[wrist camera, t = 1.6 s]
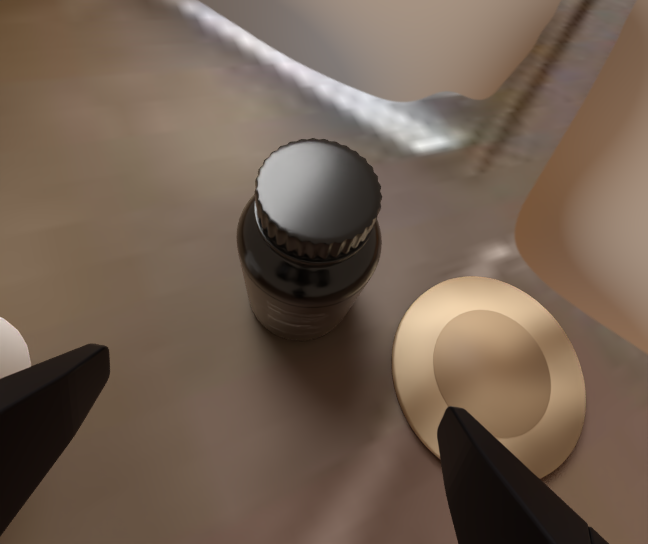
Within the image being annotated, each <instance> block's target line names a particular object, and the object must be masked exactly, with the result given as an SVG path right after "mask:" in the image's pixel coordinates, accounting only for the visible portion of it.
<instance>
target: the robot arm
mask: <svg viewBox="0 0 648 544" xmlns="http://www.w3.org/2000/svg"><path fill="white" fill-rule="evenodd" d="M109 375H110V358H109V349H108V347H107V346H104V345H98V344H87V345H85V346H82V347H80V348H77V349H74V350H72V351H69V352H67V353H64V354H62V355H59V356H57V357H54V358H52V359H49V360H46V361H44V362H41V363H39V364H36V365H34V366H31V367H29V368H26V369H24V370H21V371H18V372H16V373H13V374H11V375H8V376H6V377H3V378H1V379H0V536H1V535H2V533H3V532H4V531H5V529H6V528H7V527H8V525H9V524H10V523H11V521H12V520H13V518H14V517H15V516H16V514H17V513H18V512H19V510H20V509H21V508H22V506H23V505H24V504H25V502H26V501H27V500H28V498H29V497H30V496H31V494H32V493H33V491H34V490H35V489H36V487H37V486H38V485H39V483H40V482H41V481H42V479H43V478H44V477H45V475H46V474H47V473H48V471H49V470H50V469H51V467H52V466H53V464H54V463H55V462H56V460H57V459H58V458H59V456H60V455H61V454H62V452H63V451H64V450H65V448H66V447H67V446H68V444H69V443H70V441H71V440H72V439H73V437H74V436H75V434H76V432H77V431H78V429H79V428H80V426H81V424H82V423H83V421H84V419H85V418H86V416H87V414H88V413H89V411H90V409H91V408H92V406H93V404H94V403H95V401H96V399H97V398H98V396H99V394H100V393H101V391H102V389H103V388H104V386H105V384H106V382H107V381H108V378H109ZM437 440H438V446H439V453H440V459H441V466H442V473H443V479H444V486H445V491H446V496H447V501H448V505H449V509H450V513H451V517H452V521H453V524H454V528H455V532H456V536H457V540H458V544H609V543H608V542H607V541H606V540H604V539H603V538H602V537H601V536H600V535H599V534H598V533H597V532H596V531H595V530H594V529H593V528H592V527H588V524H587V523H586V522H585V521H584V520H583V519H582V518H581V517H580V516H579V515H578V514H577V513H576V512H574V511H573V510H572V509H571V508H570V507H569V506H568V505H567V504H566V503H565V502H564V501H563V500H562V499H561V498H560V497H558V496H557V495H556V494H555V493H554V492H553V491H552V490H551V489H550V488H549V487H548V486H547V485H546V484H545V483H543V482H542V481H541V480H540V479H539V478H538V477H537V476H536V475H535V474H534V473H533V472H532V471H531V470H530V469H529V468H527V467H526V466H525V465H524V464H523V463H522V462H521V461H520V460H519V459H518V458H517V457H516V456H515V455H514V454H512V453H511V452H510V451H509V450H508V449H507V448H506V447H505V446H504V445H503V444H502V443H501V442H500V441H499V440H498V439H496V438H495V437H494V436H493V435H492V434H491V433H490V432H489V431H488V430H487V429H486V428H485V427H484V426H483V425H481V424H480V423H479V422H478V421H477V420H476V419H475V418H474V417H473V416H472V415H471V414H470V413H469V412H468V411H467V410H465V409H464V408H461V407H455V406H449V407H447V409H446V410H445V413H444V415H443V417H442V419H441V422H440V424H439V426H438V429H437Z"/></svg>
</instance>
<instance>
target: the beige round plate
mask: <svg viewBox="0 0 648 544" xmlns="http://www.w3.org/2000/svg"><path fill="white" fill-rule="evenodd" d="M391 361H392V376H393V382H394V388H395V391H396V395H397V398H398V402H399V404H400V406H401V409H402V411H403V413H404V416H405V417H406V419H407V421H408V423H409V424H410V426H411V428H412V429H413V431H414V432H415V433H416V435H417V436H418V438H419V439H420V440H421V441H422V442H423V444H424V445H425V446H426V447H427V448H428V449H429V450H430V451H431V452H432V453H433V454H434V455H436V456H437V457H438V458H439V459H440V453H439V446H438V440H437V429H438V426H439V424H440V422H441V419H442V417H443V415H444V413H445V410H446V409H447V407H449V406H455V407H461V408H464V409H465V410H467V411H468V412H469V413H470V414H471V415H472V416H473V417H474V418H475V419H476V420H477V421H478V422H479V423H480V424H481V425H483V426H484V427H485V428H486V429H487V430H488V431H489V432H490V433H491V434H492V435H493V436H494V437H495V438H496V439H498V440H499V441H500V442H501V443H502V444H503V445H504V446H505V447H506V448H507V449H508V450H509V451H510V452H511V453H512V454H514V455H515V456H516V457H517V458H518V459H519V460H520V461H521V462H522V463H523V464H524V465H525V466H526V467H527V468H529V469H530V470H531V471H532V472H533V473H534V474H535V475H536V476H537V477H538V478H539V479H540V478H542V477H544V476H546V475H548V474H549V473H551V472H553V471H554V470H555V469H556V468H558V467H559V466H560V465H561V464H562V463H563V462H564V461H565V460H566V458H567V457H568V456H569V455H570V453H571V452H572V450H573V449H574V447H575V445H576V443H577V441H578V439H579V436H580V434H581V431H582V427H583V423H584V418H585V409H586V392H585V384H584V378H583V374H582V370H581V366H580V363H579V360H578V358H577V355H576V353H575V351H574V348H573V346H572V344H571V342H570V340H569V339H568V337H567V335H566V334H565V332H564V330H563V329H562V328H561V326H560V325H559V324H558V322H557V321H556V320H555V319H554V318H553V316H552V315H551V314H550V313H549V312H548V311H547V310H546V309H545V308H544V307H543V306H542V305H541V304H539V303H538V302H537V301H536V300H534V299H533V298H532V297H530V296H529V295H528V294H526V293H524V292H523V291H521V290H519V289H518V288H516V287H514V286H511V285H509V284H507V283H504V282H501V281H498V280H495V279H490V278H485V277H475V276H470V277H459V278H454V279H450V280H447V281H444V282H441V283H439V284H437V285H436V286H434V287H432V288H430V289H429V290H428V291H426V292H425V293H424V294H422V295H421V296H420V297H419V298H418V299H417V300H416V301H415V302H414V303H413V304H412V305H411V306H410V307H409V308H408V310H407V311H406V313H405V314H404V316H403V318H402V320H401V321H400V323H399V326H398V329H397V331H396V334H395V338H394V343H393V347H392V360H391ZM440 460H441V459H440Z"/></svg>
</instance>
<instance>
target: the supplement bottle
mask: <svg viewBox="0 0 648 544" xmlns="http://www.w3.org/2000/svg"><path fill="white" fill-rule="evenodd" d="M255 186H256V189H255V194H254V195H253V196H252V197H251V199H250V200H249V201H248V203H247V204H246V206H245V207H244V209H243V211H242V213H241V216H240V219H239V223H238V227H237V248H238V253H239V258H240V262H241V267H242V271H243V276H244V280H245V284H246V289H247V293H248V298H249V302H250V305H251V308H252V310H253V312H254V314H255V316H256V318H257V319H258V320H259V322H260V323H261V324H262V325H263V326H264V327H265V328H266V329H267V330H269V331H270V332H272V333H273V334H275V335H277V336H279V337H282V338H285V339H289V340H295V341H305V340H311V339H315V338H318V337H321V336H323V335H325V334H327V333H328V332H330V331H331V330H332V329H334V328H335V327H336V326H337V325H338V324H339V323H340V321H341V320H342V319H343V318H344V316H345V315H346V313H347V312H348V310H349V309H350V308H351V306H352V305H353V303H354V302H355V300H356V299H357V297H358V296H359V294H360V293H361V291H362V290H363V288H364V287H365V286H366V284H367V283H368V281H369V280H370V278H371V276H372V275H373V273H374V271H375V269H376V267H377V264H378V262H379V258H380V254H381V244H382V240H381V231H380V227H379V223H378V220H377V215H378V213H379V211H380V209H381V204H380V202H381V200H382V195H381V193H380V189H381V186H380V184H379V182H378V176H377V175H376V174H375V173H374V172H373V167H372V166H371V165H369V164H368V163H367V161H366V159H365V158H363V157H361V156H360V155H359V154H358V153H357V152H356V151H353V150H351V149H350V148H349V147H347V146H345V145H340V144H339V143H337V142H334V141H328V140H326V139H321V140H318V139H314V138H312V139H308V140H306V139H301V140H299V141H297V142H290V143H288V144H287V145H284V146H280V147H279V149H278V150H277V151H274V152H272V153H271V154H270V157H269V158H267V159H265V160H264V163H263V166H262V167H261V168H260V169H259V171H258V177H257V178H256V181H255Z"/></svg>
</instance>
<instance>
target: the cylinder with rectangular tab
mask: <svg viewBox="0 0 648 544" xmlns="http://www.w3.org/2000/svg"><path fill="white" fill-rule="evenodd" d="M29 367H31V361H30V356H29V351H28V346H27V344H26V343H25V341H24V339H23V338H22V336H21V334H20V333H19V331H18V330H17V329H16V328H15V327H13V326H12V325H11V324H10V323H9V322H7V321H6V320H5V319H3V318H1V317H0V379H1V378H3V377H6V376H8V375H11V374H13V373H16V372H18V371H21V370H24V369H26V368H29Z"/></svg>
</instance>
